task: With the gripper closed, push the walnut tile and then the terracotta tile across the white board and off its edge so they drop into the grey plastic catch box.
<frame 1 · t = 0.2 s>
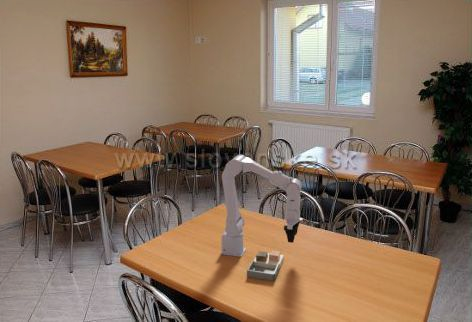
hand: (292, 238, 167), 10 cm above the table, fingers open, 7 cm apart
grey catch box: (263, 273, 159), on the table
walnut tile: (261, 259, 166), point 2 cm above the table, touching white board
terracotta tile: (274, 258, 166), point 2 cm above the table, touching white board
white board: (268, 262, 167), on the table
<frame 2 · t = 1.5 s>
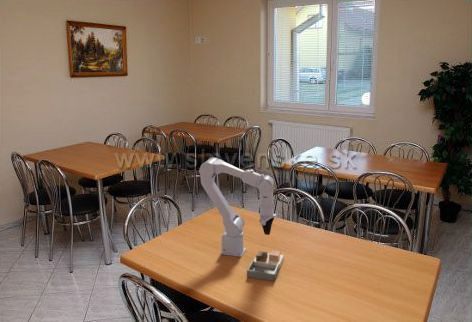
hand: (267, 234, 171), 10 cm above the table, fingers closed
nothing on the table moved.
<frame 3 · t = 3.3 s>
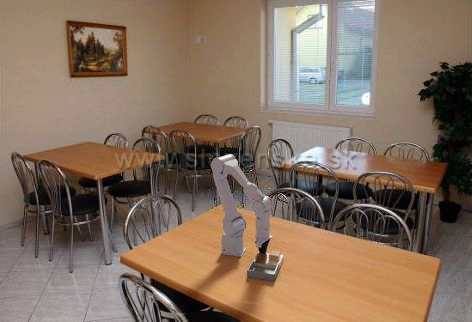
hand: (262, 255, 167), 3 cm above the table, fingers closed
walnut tile: (261, 260, 165), point 2 cm above the table, touching gripper, white board
everything else where it was.
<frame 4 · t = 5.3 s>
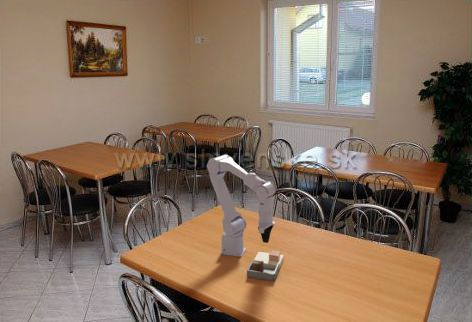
hand: (265, 242, 165), 9 cm above the table, fingers closed
walnut tile: (258, 265, 161), point 2 cm above the table, tilted 90°, touching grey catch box
everything else where it was.
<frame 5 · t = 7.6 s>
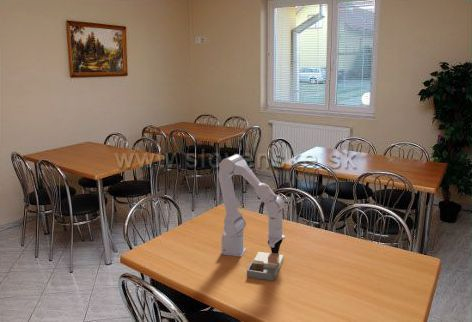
hand: (275, 255, 167), 3 cm above the table, fingers closed
terracotta tile: (273, 260, 165), point 2 cm above the table, touching gripper, white board
everything else where it was.
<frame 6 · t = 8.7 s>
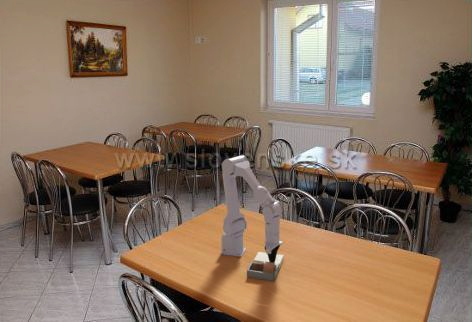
hand: (272, 261, 162), 3 cm above the table, fingers closed
terracotta tile: (270, 266, 159), point 2 cm above the table, tilted 90°, touching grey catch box
everything else where it was.
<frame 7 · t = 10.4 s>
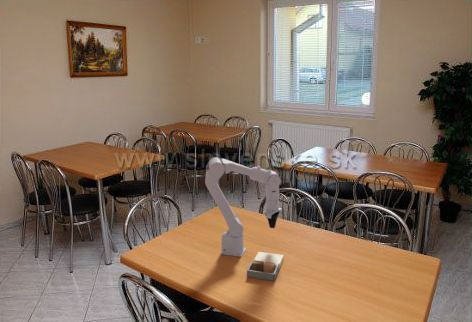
hand: (272, 227, 177), 10 cm above the table, fingers closed
nothing on the table moved.
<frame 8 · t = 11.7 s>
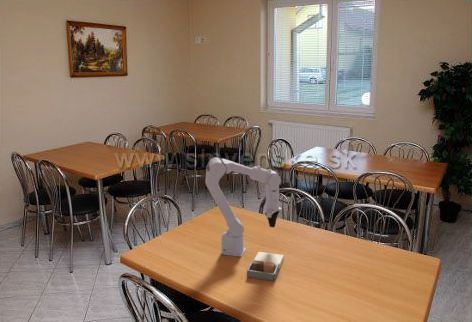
hand: (272, 226, 177), 10 cm above the table, fingers closed
nothing on the table moved.
at the end: walnut tile inside the target area on the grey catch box (2.8 cm from its centre), point 2.3 cm above the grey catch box's base; terracotta tile inside the target area on the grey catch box (2.8 cm from its centre), point 2.3 cm above the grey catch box's base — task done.
